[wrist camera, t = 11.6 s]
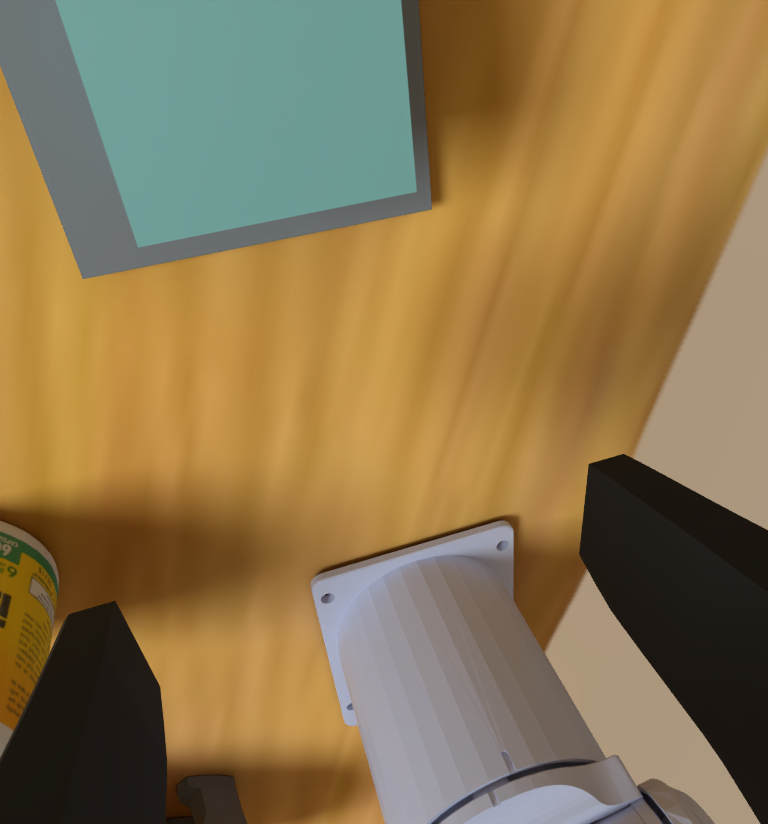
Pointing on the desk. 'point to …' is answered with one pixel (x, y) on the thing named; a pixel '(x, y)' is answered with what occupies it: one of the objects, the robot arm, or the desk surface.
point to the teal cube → (244, 107)
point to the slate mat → (91, 171)
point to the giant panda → (209, 801)
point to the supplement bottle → (23, 620)
